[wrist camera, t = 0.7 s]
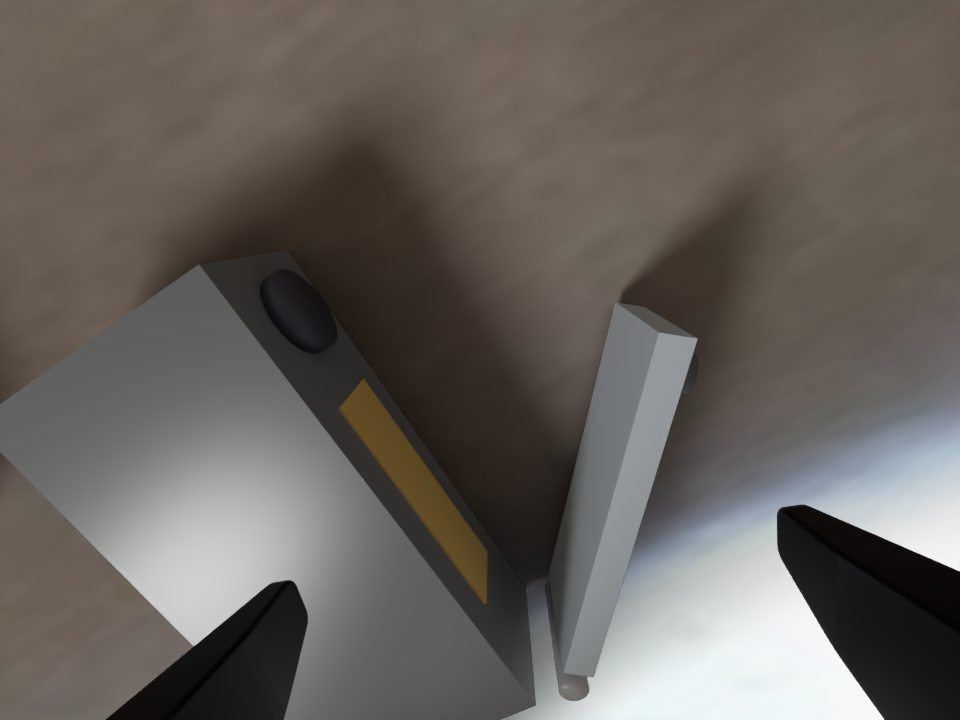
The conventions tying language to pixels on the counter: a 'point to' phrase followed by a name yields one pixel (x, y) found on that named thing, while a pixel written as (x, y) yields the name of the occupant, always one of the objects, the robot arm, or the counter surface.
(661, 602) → the counter surface
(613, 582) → the side door
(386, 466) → the gray rectangular box
